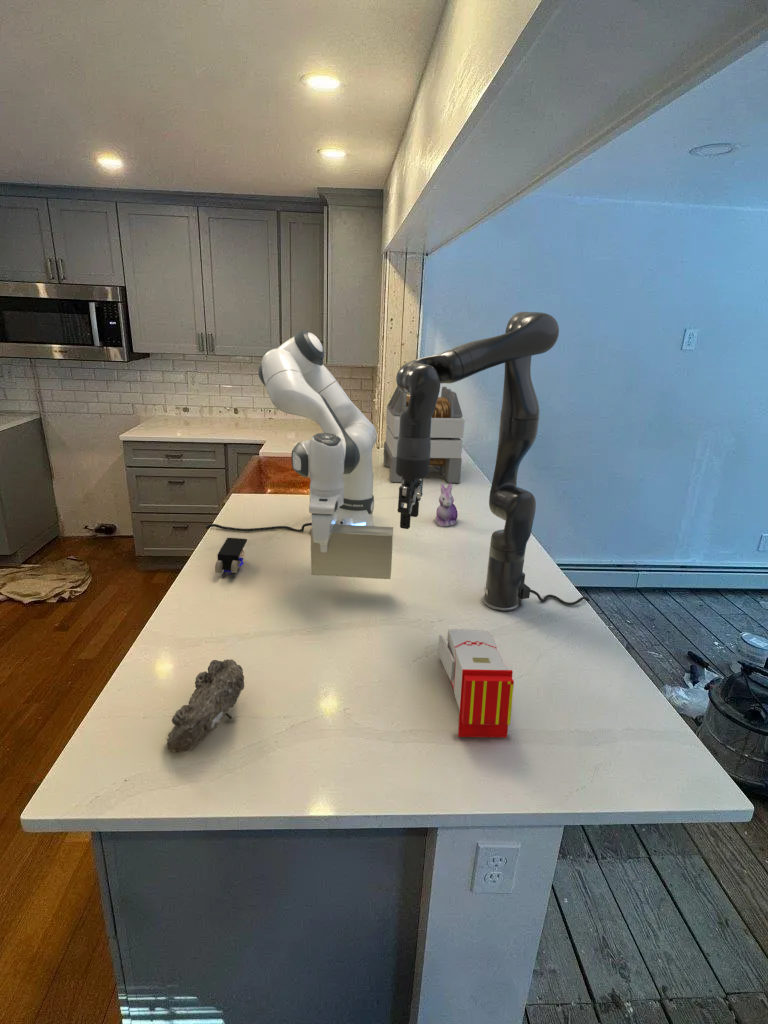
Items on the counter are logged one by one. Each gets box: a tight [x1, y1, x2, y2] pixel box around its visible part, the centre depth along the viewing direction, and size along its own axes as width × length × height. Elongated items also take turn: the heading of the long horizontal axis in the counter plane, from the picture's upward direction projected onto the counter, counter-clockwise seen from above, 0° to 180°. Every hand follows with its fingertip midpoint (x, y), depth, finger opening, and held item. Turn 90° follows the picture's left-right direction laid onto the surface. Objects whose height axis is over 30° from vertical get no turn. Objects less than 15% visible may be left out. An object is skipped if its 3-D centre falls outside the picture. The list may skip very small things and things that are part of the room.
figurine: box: [434, 483, 459, 527], centre depth 210 cm, size 9×10×15 cm
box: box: [310, 524, 394, 580], centre depth 152 cm, size 21×6×13 cm, turn 87°
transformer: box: [383, 386, 465, 484], centre depth 268 cm, size 34×33×41 cm
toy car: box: [214, 537, 248, 578], centre depth 166 cm, size 7×8×15 cm
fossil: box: [166, 658, 245, 754], centre depth 106 cm, size 22×10×15 cm
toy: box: [437, 628, 515, 738], centre depth 117 cm, size 12×13×30 cm
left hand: (326, 545), depth 152 cm, fingers closed on box, 6 cm apart
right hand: (409, 522), depth 133 cm, fingers open, 8 cm apart
